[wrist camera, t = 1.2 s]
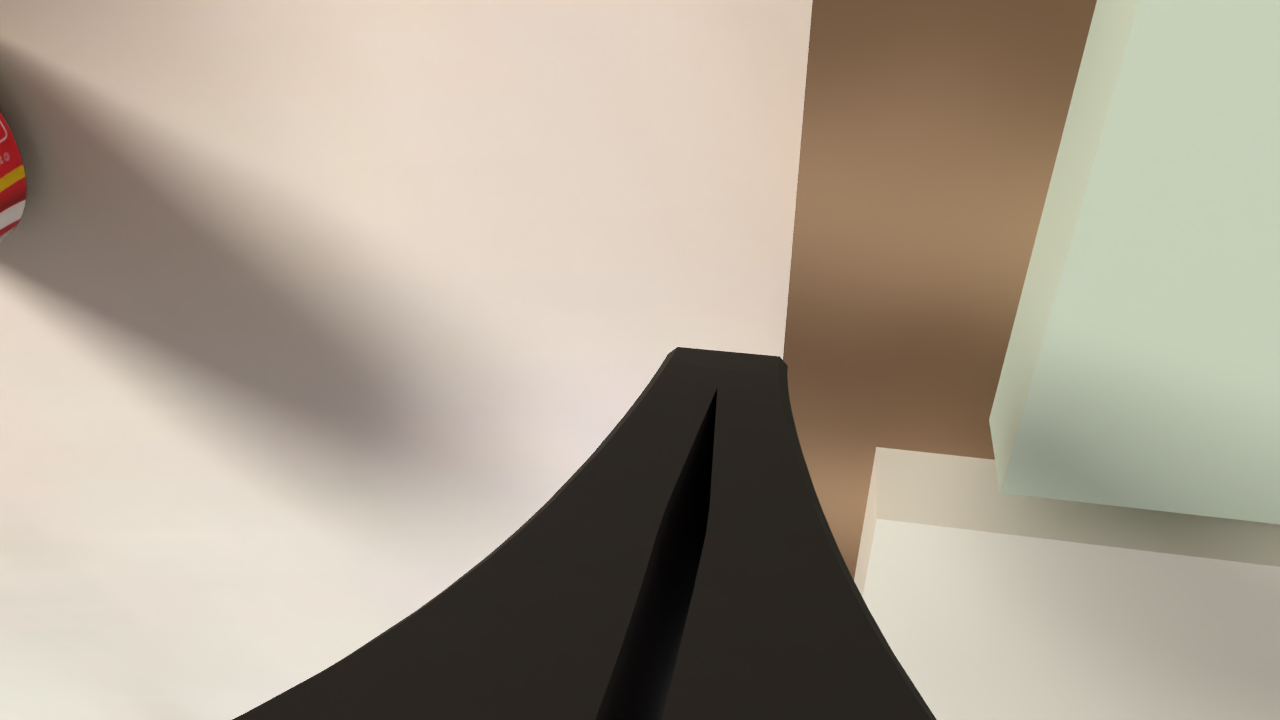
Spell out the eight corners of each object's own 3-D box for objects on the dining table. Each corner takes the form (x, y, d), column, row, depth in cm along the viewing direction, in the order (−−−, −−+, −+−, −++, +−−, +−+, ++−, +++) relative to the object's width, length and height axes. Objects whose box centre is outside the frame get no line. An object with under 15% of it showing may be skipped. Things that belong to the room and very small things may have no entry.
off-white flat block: (1369, 499, 18) (1417, 583, 16) (1253, 690, 21) (1282, 772, 20) (875, 447, 19) (876, 518, 18) (845, 632, 23) (843, 706, 21)
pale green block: (1332, 454, 17) (1378, 535, 16) (988, 419, 18) (1000, 492, 17) (1627, -76, 12) (1742, -32, 10) (1118, -85, 13) (1152, -46, 11)
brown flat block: (1247, 560, 24) (1301, 696, 21) (774, 504, 26) (761, 620, 23) (1617, -135, 15) (1816, -73, 12) (829, -142, 17) (820, -90, 14)
